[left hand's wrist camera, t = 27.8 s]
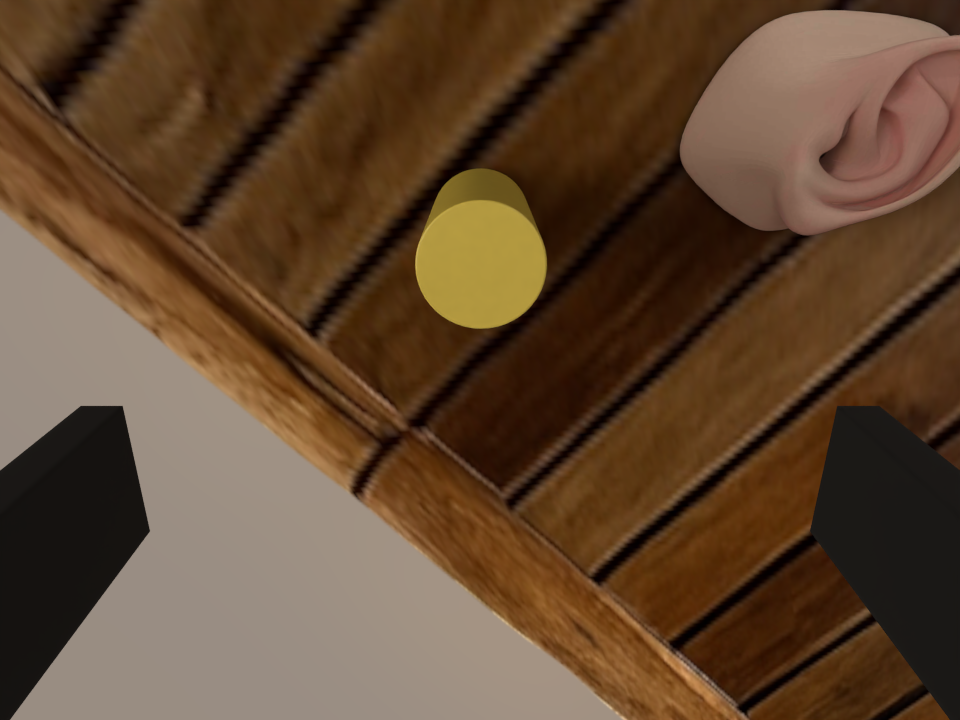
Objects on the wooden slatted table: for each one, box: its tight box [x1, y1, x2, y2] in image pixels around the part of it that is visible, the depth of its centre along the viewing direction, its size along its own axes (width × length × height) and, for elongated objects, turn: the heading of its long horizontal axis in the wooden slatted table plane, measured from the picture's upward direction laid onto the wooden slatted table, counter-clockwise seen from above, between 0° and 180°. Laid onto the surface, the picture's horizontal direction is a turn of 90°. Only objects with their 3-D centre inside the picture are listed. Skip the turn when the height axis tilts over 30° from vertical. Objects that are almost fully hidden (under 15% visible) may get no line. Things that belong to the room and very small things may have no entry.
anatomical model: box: [680, 10, 960, 235], centre depth 34 cm, size 13×4×12 cm
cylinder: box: [415, 168, 547, 329], centre depth 32 cm, size 5×5×11 cm
